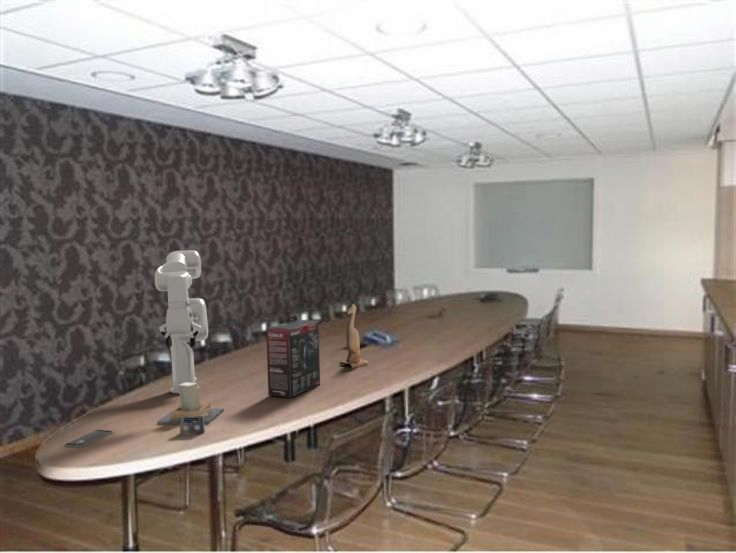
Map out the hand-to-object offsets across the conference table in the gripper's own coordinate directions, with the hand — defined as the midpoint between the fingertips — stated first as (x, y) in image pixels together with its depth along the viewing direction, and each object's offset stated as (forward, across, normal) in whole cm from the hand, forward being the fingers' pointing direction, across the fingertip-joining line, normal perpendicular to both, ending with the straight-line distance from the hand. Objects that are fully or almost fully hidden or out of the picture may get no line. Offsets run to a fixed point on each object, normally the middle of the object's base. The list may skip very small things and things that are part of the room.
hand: (181, 347), depth 245 cm
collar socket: (+25, -8, +13) cm, 29 cm away
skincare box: (+24, -7, +12) cm, 28 cm away
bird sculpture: (+28, -60, -74) cm, 99 cm away
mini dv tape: (+24, -16, +31) cm, 42 cm away
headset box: (+26, -40, -25) cm, 54 cm away
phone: (+25, +20, +37) cm, 48 cm away
